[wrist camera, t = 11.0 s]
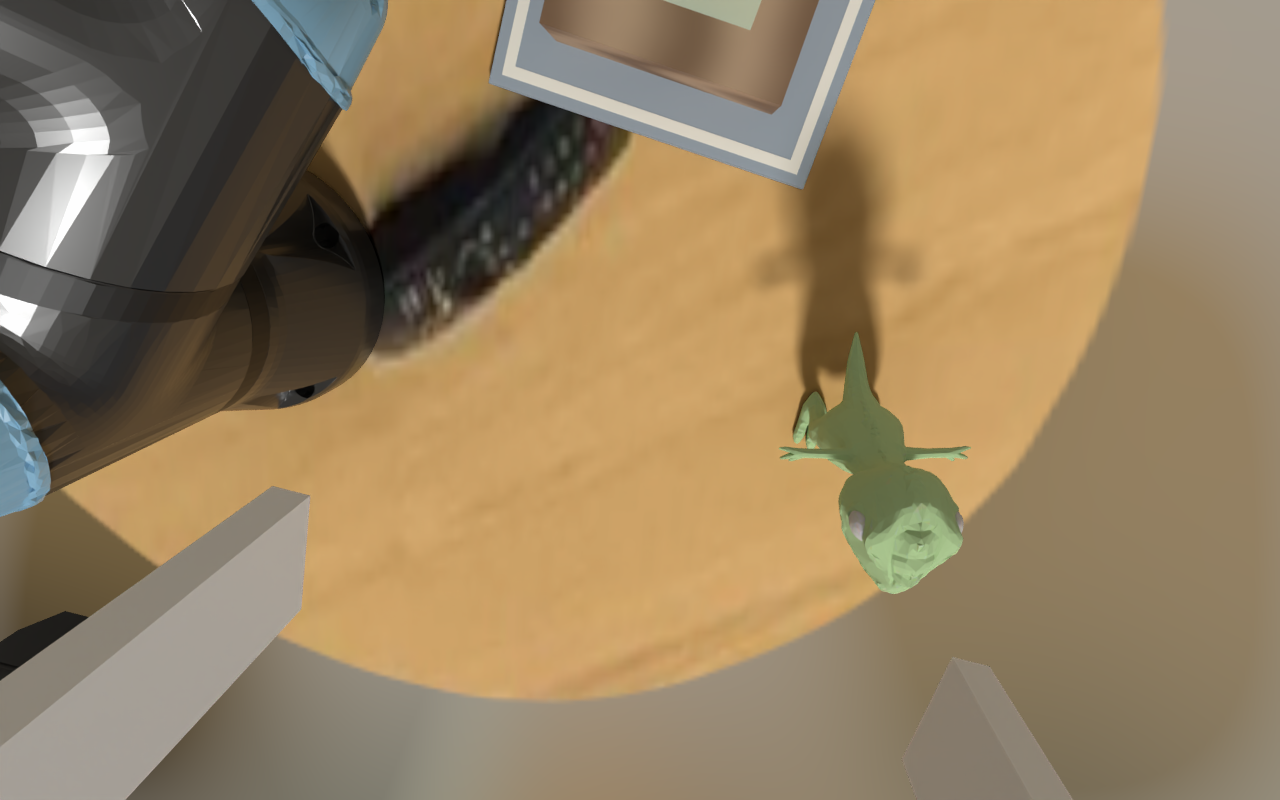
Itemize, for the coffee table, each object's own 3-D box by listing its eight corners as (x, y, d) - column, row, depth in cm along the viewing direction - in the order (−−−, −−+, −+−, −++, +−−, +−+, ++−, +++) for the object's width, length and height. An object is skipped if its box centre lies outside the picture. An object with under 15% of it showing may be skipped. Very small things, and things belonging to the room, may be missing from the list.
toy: (829, 484, 41) (907, 642, 27) (751, 397, 40) (791, 517, 25) (922, 416, 39) (1059, 547, 25) (844, 323, 38) (943, 406, 24)
